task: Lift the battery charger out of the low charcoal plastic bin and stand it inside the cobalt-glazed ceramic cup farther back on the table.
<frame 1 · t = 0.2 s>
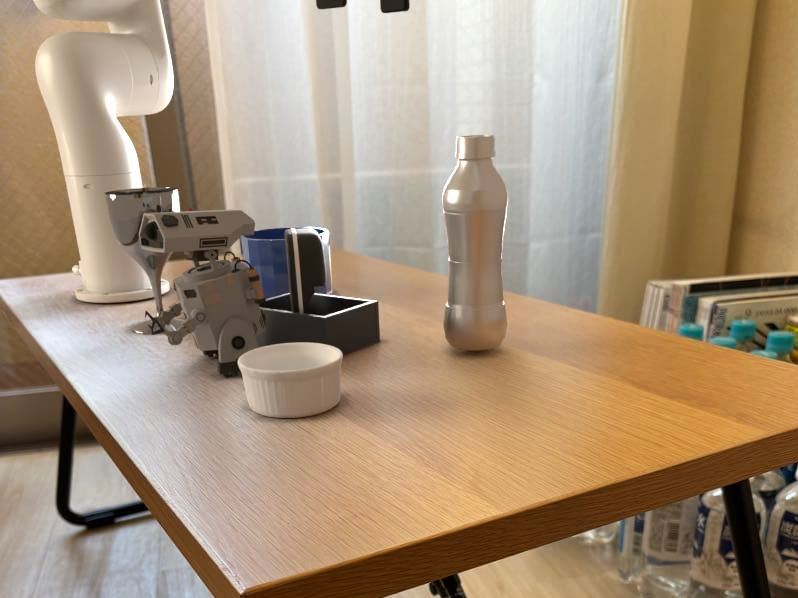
hand: (364, 10, 85), 31 cm above the table, tool pointing down, fingers open, 9 cm apart
ramekin: (295, 406, 78), on the table
wine glass: (162, 327, 106), on the table
cup: (289, 295, 119), on the table
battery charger: (312, 342, 96), resting on bin
bin: (312, 343, 96), on the table
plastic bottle: (475, 351, 92), on the table
figurine: (212, 369, 89), on the table
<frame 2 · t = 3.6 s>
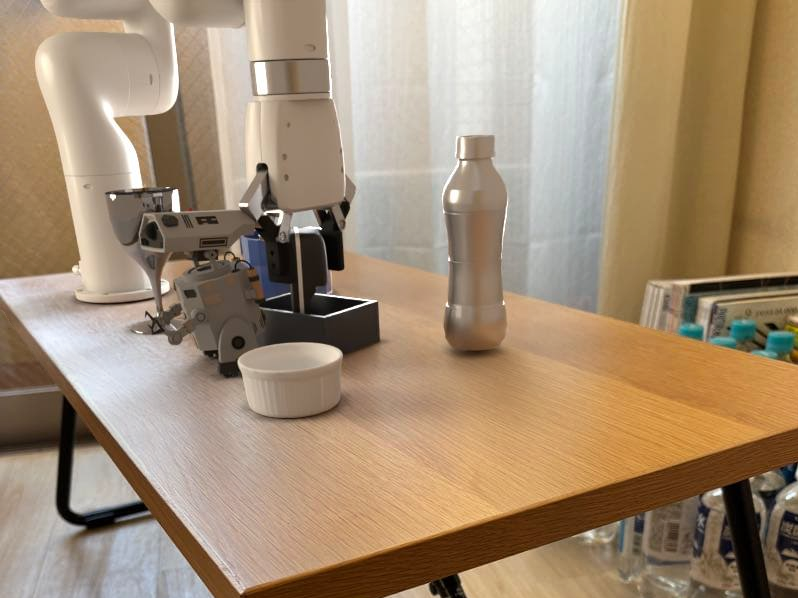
hand: (307, 274, 93), 7 cm above the table, tool pointing down, fingers closed on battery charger, 7 cm apart
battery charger: (312, 342, 96), resting on bin, touching gripper
everything else where it was.
when the fingers open (8 cm above the table, at t = 11.5 s): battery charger stays where it is, resting on cup.
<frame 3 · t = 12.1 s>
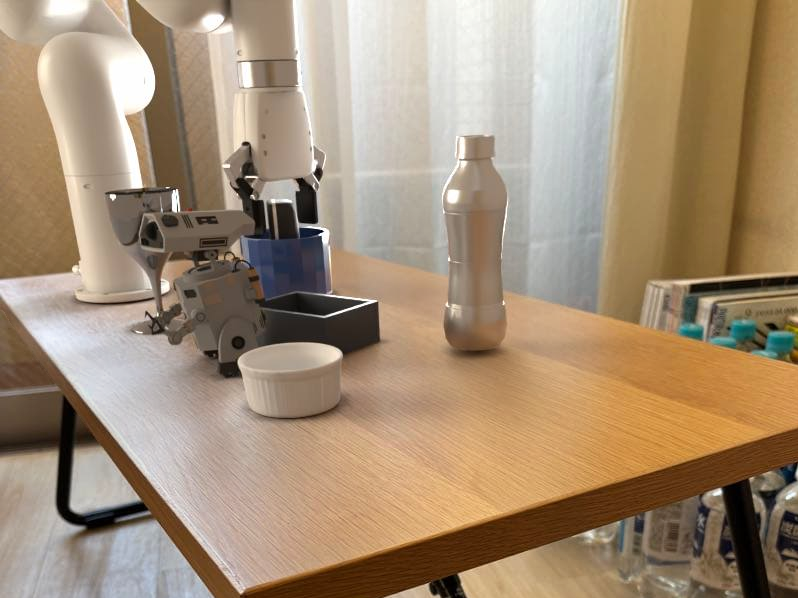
hand: (282, 228, 115), 9 cm above the table, tool pointing down, fingers open, 9 cm apart
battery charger: (289, 292, 119), resting on cup
everything else where it was.
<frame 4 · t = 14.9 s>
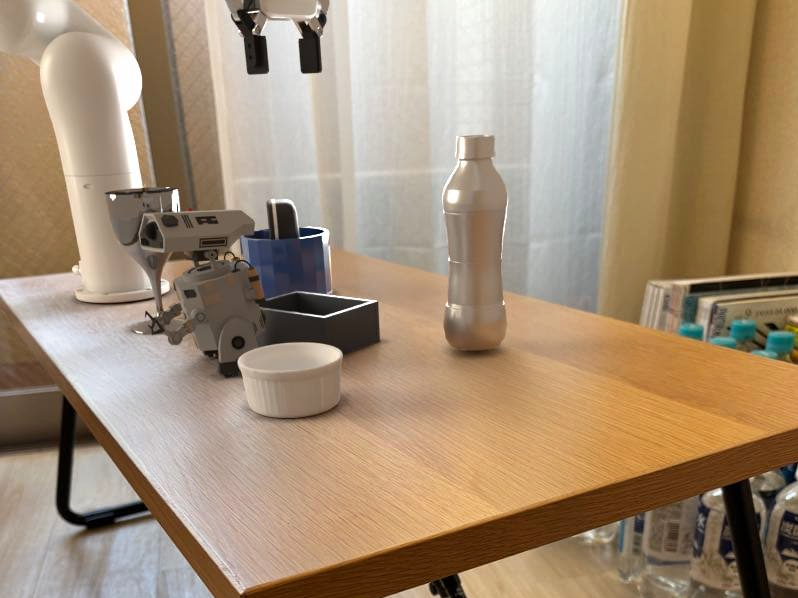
hand: (285, 73, 112), 26 cm above the table, tool pointing down, fingers open, 9 cm apart
nothing on the table moved.
at the end: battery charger 0.1 cm off-centre in the cup, point 0.4 cm above the cup's base; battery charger tilted 0° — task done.
